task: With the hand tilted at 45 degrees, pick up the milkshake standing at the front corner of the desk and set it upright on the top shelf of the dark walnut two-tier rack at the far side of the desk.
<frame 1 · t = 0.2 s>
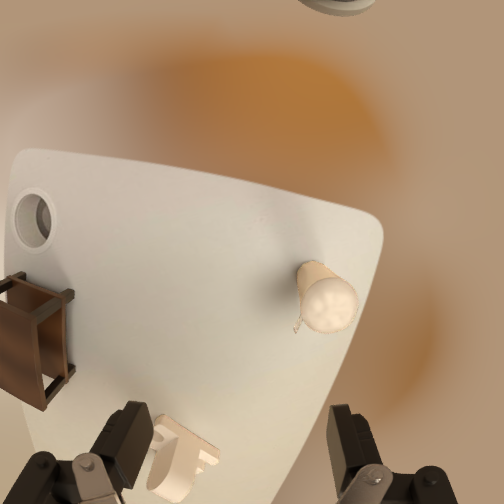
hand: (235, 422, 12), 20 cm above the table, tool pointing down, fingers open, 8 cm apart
rack: (46, 323, 33), on the table
milkshake: (307, 277, 31), on the table
cream mounting bracket: (182, 440, 37), on the table
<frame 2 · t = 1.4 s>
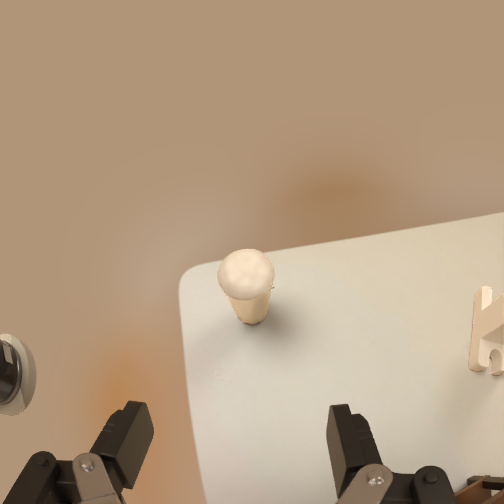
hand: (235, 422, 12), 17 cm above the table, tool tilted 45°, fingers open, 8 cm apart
milkshake: (254, 313, 32), on the table
cream mounting bracket: (487, 333, 28), on the table
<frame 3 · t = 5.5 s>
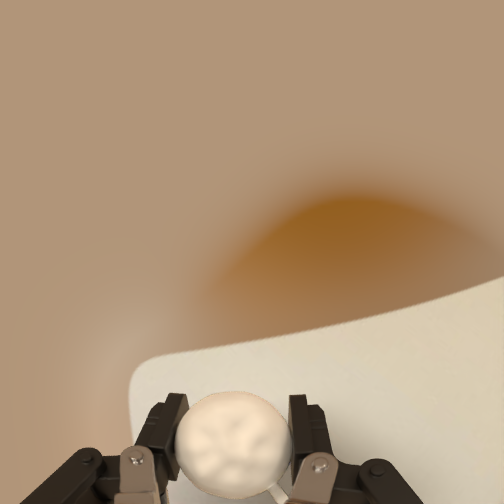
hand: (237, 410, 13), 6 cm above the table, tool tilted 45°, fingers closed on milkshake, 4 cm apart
milkshake: (248, 443, 17), on the table, touching gripper
when the fingers open (15 cm above the table, at t = 15.9 s): milkshake stays where it is, resting on rack.
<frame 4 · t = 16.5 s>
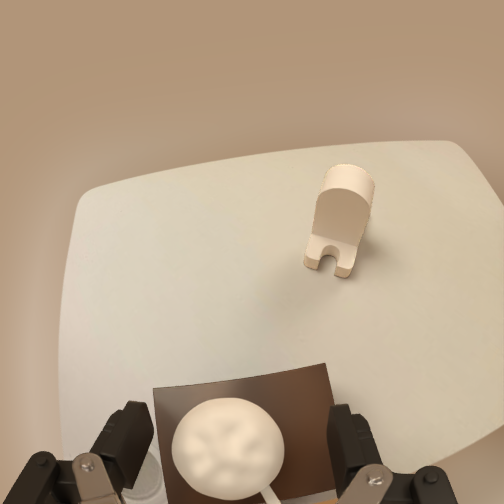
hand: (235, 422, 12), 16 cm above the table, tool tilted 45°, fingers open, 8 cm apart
rack: (254, 438, 25), on the table
milkshake: (248, 445, 18), point 9 cm above the table, touching rack
cream mounting bracket: (335, 237, 36), on the table
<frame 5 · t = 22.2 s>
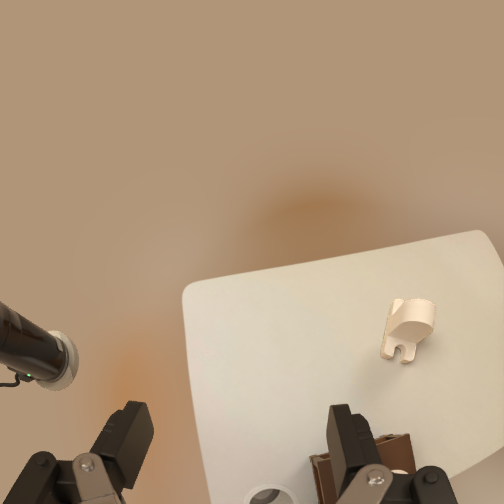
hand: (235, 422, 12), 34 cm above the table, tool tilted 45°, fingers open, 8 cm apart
rack: (353, 472, 36), on the table
cream mounting bracket: (399, 332, 47), on the table
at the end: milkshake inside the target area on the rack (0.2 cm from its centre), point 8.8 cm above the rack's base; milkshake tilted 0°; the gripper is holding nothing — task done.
